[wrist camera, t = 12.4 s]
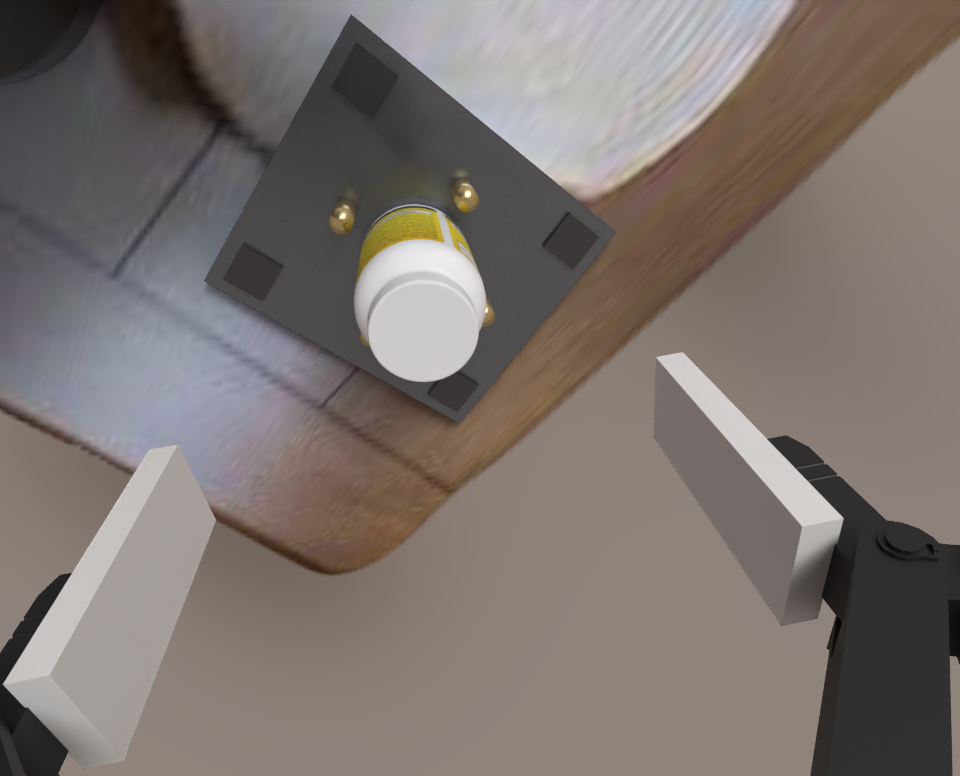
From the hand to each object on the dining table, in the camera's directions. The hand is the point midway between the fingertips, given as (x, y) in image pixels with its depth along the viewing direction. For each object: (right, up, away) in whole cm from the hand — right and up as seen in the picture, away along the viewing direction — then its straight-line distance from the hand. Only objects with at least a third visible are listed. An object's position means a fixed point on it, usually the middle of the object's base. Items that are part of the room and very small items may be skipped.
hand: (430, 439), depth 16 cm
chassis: (-2, +10, +18) cm, 21 cm away
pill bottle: (-2, +9, +18) cm, 20 cm away
